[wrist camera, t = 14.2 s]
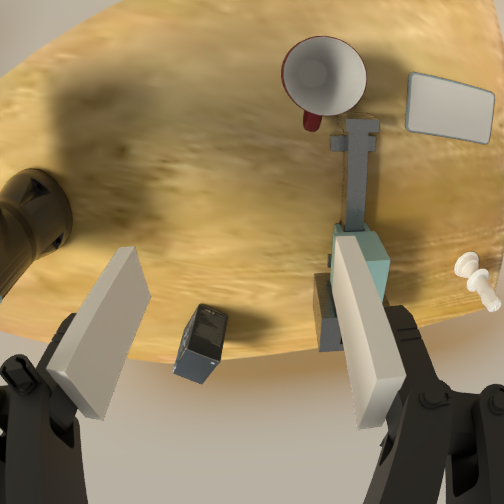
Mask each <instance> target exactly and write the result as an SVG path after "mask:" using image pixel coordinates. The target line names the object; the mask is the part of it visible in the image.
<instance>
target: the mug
mask: <svg viewBox="0 0 504 504" xmlns="http://www.w3.org/2000/svg"><path fill="white" fill-rule="evenodd" d="M281 78H282V83H283V86H284V89H285V91H286V93H287V94H288V96H289V97H290V98H291V100H292V101H293V102H294V103H295V104H296V105H298V106H299V107H300V108H302V109H303V110H304V116H303V126H304V129H305V130H307V131H310V132H315V131H317V130H318V129H319V126H320V124H321V120H322V116H336V115H340V114H342V113H345V112H347V111H349V110H350V109H352V108H353V107H354V106H355V105H356V104H357V103H358V102H359V101H360V99H361V98H362V96H363V94H364V92H365V89H366V84H367V72H366V68H365V65H364V62H363V60H362V58H361V57H360V55H359V54H358V53H357V51H356V50H355V49H354V48H353V47H351V46H350V45H349V44H347V43H346V42H344V41H342V40H340V39H337V38H334V37H329V36H315V37H311V38H308V39H305V40H303V41H301V42H299V43H298V44H296V45H295V46H294V47H292V48H291V49H290V51H289V52H288V53H287V55H286V56H285V58H284V61H283V64H282V69H281Z"/></svg>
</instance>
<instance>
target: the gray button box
mask: <svg viewBox="0 0 504 504" xmlns="http://www.w3.org/2000/svg"><path fill="white" fill-rule="evenodd" d="M330 276H331V273H320V274H314V296H313V311H314V318H315V325H316V333H317V341H318V349H319V352H329V351H342V350H344V346H343V341H342V336H341V331H340V326H339V321H338V316H337V312H336V307H335V302H334V298H333V293H332V286H331V282H330ZM382 305H383V307H387V306H390V305H389V303H388V300H387V298H386V295H385V293H384V297H383V302H382Z"/></svg>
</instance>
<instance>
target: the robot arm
mask: <svg viewBox="0 0 504 504" xmlns="http://www.w3.org/2000/svg"><path fill="white" fill-rule="evenodd" d="M71 228H72V214H71V209H70V205H69V202H68V200H67V197H66V195H65V194H64V192H63V190H62V189H61V187H60V186H59V185H58V184H57V182H56V181H55V180H54V179H53V178H51V177H50V176H49V175H47V174H46V173H44V172H42V171H39V170H36V169H26V170H22V171H20V172H19V173H17V174H16V175H14V176H13V177H11V178H10V179H9V180H8V181H7V182H6V184H5V185H4V187H3V188H2V190H1V191H0V303H1V302H2V300H3V298H4V297H5V296H6V294H7V293H8V292H9V291H10V289H11V288H12V287H13V285H14V284H15V283H16V282H17V281H18V279H19V278H20V277H21V276H22V274H23V273H24V272H25V271H26V270H27V268H28V267H29V266H30V265H31V264H32V263H33V262H34V261H35V260H38V259H40V258H42V257H44V256H46V255H48V254H51V253H53V252H55V251H56V250H57V249H59V248H60V247H61V246H62V244H63V243H64V242H65V241H66V240H67V239H68V237H69V235H70V232H71ZM332 293H333V298H334V302H335V307H336V312H337V316H338V321H339V326H340V331H341V336H342V341H343V346H344V351H345V357H346V362H347V367H348V373H349V379H350V384H351V390H352V395H353V402H354V408H355V415H356V421H357V428H358V430H359V429H366V428H374V427H380V426H382V425H383V423H384V421H385V419H386V421H387V425H388V430H389V431H388V432H387V434H386V436H385V437H384V439H383V441H382V443H381V444H380V446H382V450H381V453H380V457H379V460H378V463H377V466H376V469H375V472H374V475H373V478H372V481H371V484H370V486H369V489H368V492H367V494H366V497H365V500H364V503H363V504H437V500H438V496H439V492H440V488H441V483H442V479H443V474H444V469H445V472H446V473H445V474H446V504H504V386H503V385H500V384H492V385H489V386H487V387H486V388H485V389H484V390H483V391H482V392H481V393H480V394H471V393H461V392H456V391H453V390H451V389H450V387H449V386H448V385H447V384H446V383H445V382H443V381H441V380H439V379H438V377H437V375H436V373H435V370H434V368H433V365H432V362H431V359H430V357H429V354H428V352H427V349H426V347H425V344H424V342H423V340H422V339H421V334H420V332H419V330H418V329H417V325H416V322H415V320H414V318H413V315H412V314H411V313H410V312H409V311H408V310H407V309H406V308H405V307H404V306H403V305H398V306H387V307H383V305H382V302H381V300H380V297H379V294H378V292H377V289H376V286H375V284H374V281H373V279H372V276H371V274H370V271H369V269H368V266H367V264H366V261H365V259H364V256H363V254H362V252H361V249H360V247H359V244H358V242H357V240H356V237H355V236H336V242H335V259H334V274H333V287H332ZM150 299H151V295H150V292H149V289H148V286H147V283H146V280H145V277H144V274H143V271H142V268H141V265H140V262H139V258H138V255H137V252H136V249H135V246H134V247H119V249H118V250H117V251H116V253H115V254H114V256H113V257H112V259H111V260H110V262H109V263H108V265H107V266H106V268H105V269H104V271H103V272H102V274H101V276H100V277H99V279H98V280H97V282H96V283H95V285H94V286H93V288H92V290H91V291H90V293H89V294H88V296H87V298H86V299H85V301H84V302H83V304H82V306H81V307H80V309H79V311H78V312H77V313H71V314H70V315H69V316H68V317H67V318H66V319H65V320H64V321H63V322H62V323H61V325H60V327H59V328H58V330H57V332H56V334H55V335H54V337H53V338H52V342H50V344H49V345H48V347H47V349H46V351H45V352H44V354H43V356H42V358H41V360H40V361H39V363H38V365H37V367H36V369H35V368H34V366H33V365H32V363H31V362H30V360H29V359H28V358H27V356H24V355H22V354H18V355H14V356H12V357H10V358H9V359H7V360H6V361H5V362H4V363H3V365H2V366H1V368H0V375H1V376H2V377H3V379H4V380H5V381H6V382H7V383H8V385H6V386H0V428H1V429H2V430H3V433H2V435H0V504H88V500H87V494H86V487H85V479H84V471H83V463H82V452H81V440H80V425H79V421H78V419H77V418H76V417H75V414H76V412H77V409H79V410H80V411H81V413H82V414H83V415H84V416H85V417H87V418H91V419H97V420H102V421H103V420H104V418H105V415H106V411H107V409H108V406H109V403H110V400H111V397H112V395H113V392H114V389H115V387H116V384H117V381H118V378H119V376H120V373H121V370H122V368H123V365H124V363H125V360H126V357H127V355H128V352H129V350H130V347H131V345H132V342H133V340H134V337H135V335H136V332H137V330H138V327H139V325H140V322H141V320H142V318H143V315H144V313H145V310H146V308H147V306H148V303H149V301H150Z"/></svg>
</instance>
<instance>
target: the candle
mask: <svg viewBox="0 0 504 504" xmlns="http://www.w3.org/2000/svg"><path fill="white" fill-rule="evenodd" d="M478 261H479V258H478V255H477V254H476V253H475V252H466V253H464V254H463V255H462V256H460V257H459V259H458V260H457V262H456V264H455V268H454V270H455V273H456V275H457V276H459V277H464V278H469V279H468V281H467V288H468V290H469V291H477V292H478V294H479V295H480V297H481V301H482V303H483V304H484V305H485V306H486V308H487V309H488V310H489V311H490V312H494V311H496V310H498V309H499V307H500V306H501V300H500V298H499V297H498V295H497V294H496V292H495V291H494V289H493V288H492V287H491V285H490V284H489V282H488V278H489V273H488V271H487V270H486V269H479V270H478V266H479V265H478Z"/></svg>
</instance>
